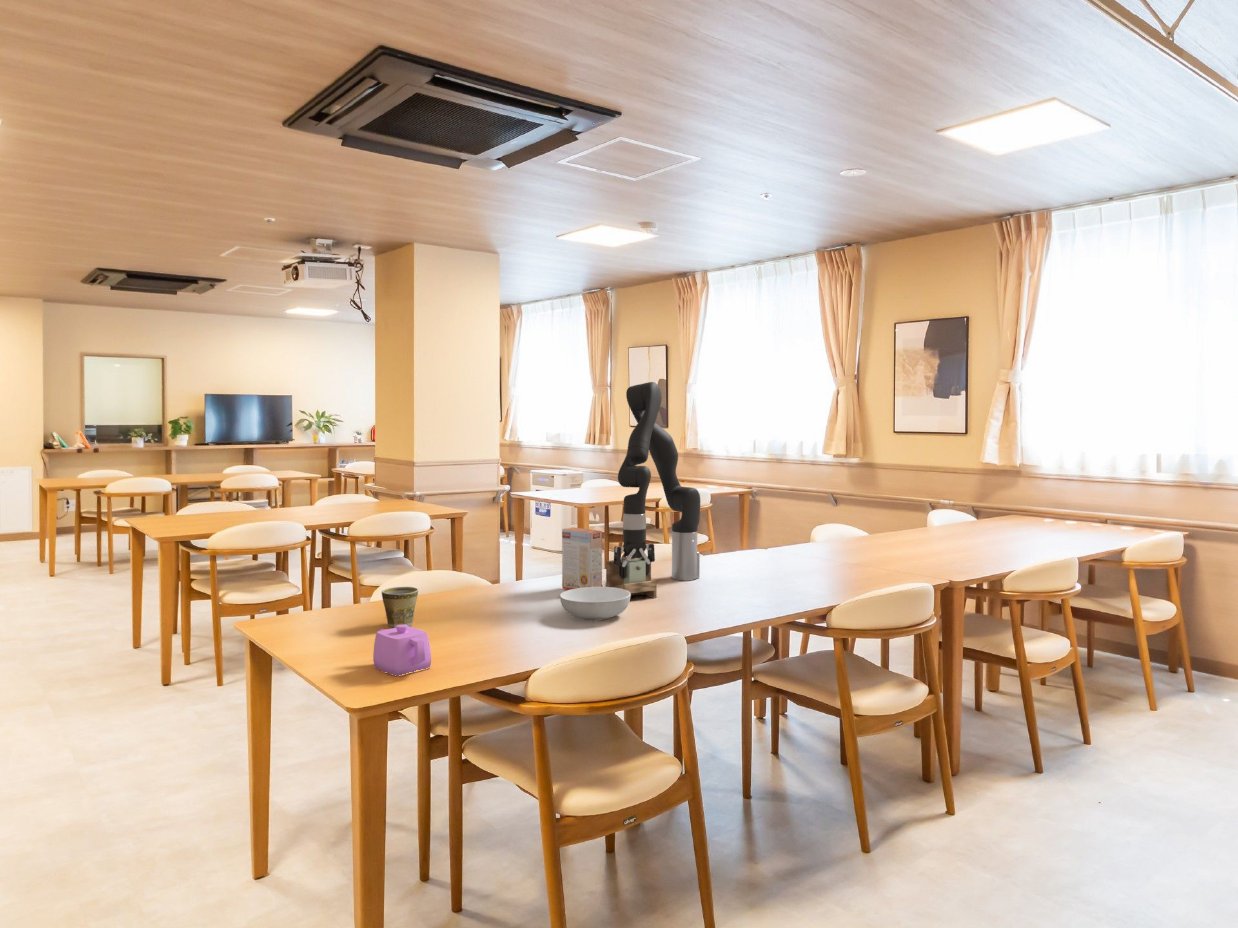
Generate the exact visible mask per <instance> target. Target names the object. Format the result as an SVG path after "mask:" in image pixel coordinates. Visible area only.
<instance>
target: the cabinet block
mask: <svg viewBox="0 0 1238 928" xmlns="http://www.w3.org/2000/svg"><path fill="white" fill-rule="evenodd" d="M625 567H626V578H623V584H630V583H638V582H646V561H644V560H641V559H635V560H629V561H628V562H627V564H626V565H625Z"/></svg>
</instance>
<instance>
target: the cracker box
mask: <svg viewBox="0 0 1238 928" xmlns="http://www.w3.org/2000/svg"><path fill="white" fill-rule="evenodd" d="M561 530H562V531H561V532H562V533H561V537H562V539H561V541H562V543H561V544H562V546H561V550H562V551H561V553H562V554H561V555H562V556H561V557H562V560H561V564H562V565H561V566H562V567H561V569H562V570H561V571H562V572H561V573H562V575H561V576H562V577H561V578H562V581H561V582H562V585H561V589H562V590H565V591H567V590H571V589H576V588H583V587H603V531H602V530H597V529H589V528H581V527H567V528H562V529H561Z"/></svg>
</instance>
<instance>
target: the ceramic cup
mask: <svg viewBox="0 0 1238 928" xmlns="http://www.w3.org/2000/svg"><path fill="white" fill-rule="evenodd" d="M418 594H419V589H418V588H417V587H412V586H394V587H389V588H385V589H383V590H382V591H381V597H382V603H383V607H384V612H385V615H386V621H387V627H389V628H391V627H393V628H396V626H397V625H407V626H409V627H412V625H413V622H414V621H413V620H414V616H415V615H414V614H415V609H416V605H417V601H418V596H419V595H418Z"/></svg>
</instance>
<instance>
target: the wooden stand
mask: <svg viewBox="0 0 1238 928" xmlns="http://www.w3.org/2000/svg"><path fill="white" fill-rule="evenodd" d="M647 558H648V556H647ZM635 559H640V558H635ZM635 559H630V560H635ZM605 573H606V575H605V587H613V588H620V589H624V590H627V591H629V592H630V594H631V596H630V597H632V596H633V597H634V596H640V595H644V596H648V597H650V598H652V599H656V598H657V597H658V595H657V593H658V592H657V584H658V583H657V580H655V579H654V580H652V562H651V563H650V564H649V574H648V576H646V582H638V583H630V584H623V578H621V576H620V575H619V566H618V565H615V564H614V559H613V560H611V559H610V560H606V562H605Z"/></svg>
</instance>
